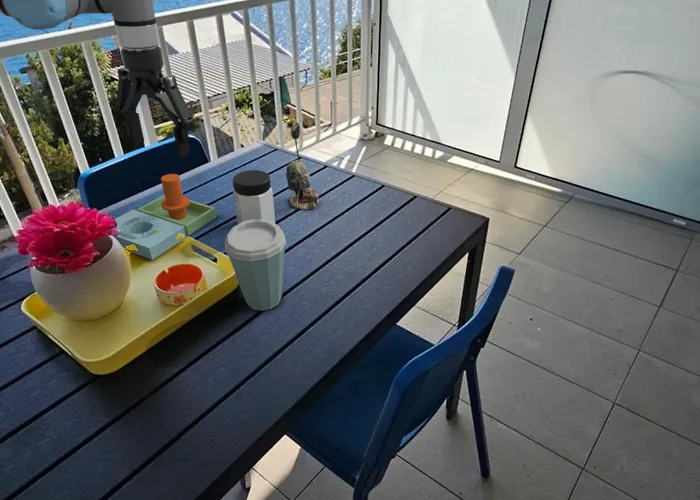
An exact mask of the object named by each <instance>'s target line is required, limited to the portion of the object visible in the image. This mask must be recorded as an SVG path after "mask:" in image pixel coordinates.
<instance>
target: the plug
mask: <svg viewBox="0 0 700 500" xmlns="http://www.w3.org/2000/svg"><path fill="white" fill-rule="evenodd" d="M160 181H161V185H162V190H163V195H165V200H163V201H162V203H161V207H162V208H163V209H164V210H167V211H168V213H169V217H170V218H171V219H174V220H180V219H183V218H185V217H186V216H187V213H186V207H188V206H189V204H190V201H189V200H190V199H189V198H188V197H187V196H184V193H183V189H182V184H181V179H180V175H179V174H177V173H168V174H165V175H163V176H161V178H160Z"/></svg>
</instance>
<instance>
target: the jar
mask: <svg viewBox="0 0 700 500" xmlns="http://www.w3.org/2000/svg"><path fill="white" fill-rule="evenodd" d="M273 192H274V191H273V188H272V187H271V176H270V174H269V173H268V172H265V171H263V170H259V169H250V170H244V171H240V172H238V173H236V174H235V175H233V177H232V193H233V194H232V195H233V202H234V208H235V209H234V210H235V214H236V216H235V217H236V222H237V225H238V224H240V223H241V222H243V221H247V220H254V219H263V220H270V221H272V222H274V223H275V224H276V214H275V213H276V212H275V205H274V204H275V203H274V193H273Z"/></svg>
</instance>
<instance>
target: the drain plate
mask: <svg viewBox="0 0 700 500" xmlns="http://www.w3.org/2000/svg"><path fill="white" fill-rule="evenodd" d="M114 219H115V221H116V222H117V226H116V227H117V229H118V230H120V234H119V235H118V236H116V237H115V238H116V239H117V240H118V241H119V242H120V244H121V245H122V246H123V247H124V248H126V246H129V245H132V244H134V245H135V246H136V248H137V249H138V251H136V250H131V251H129V252H130V253H133V254H135V255H137V256H140V257H143V258H146V259H148V260H151V261H153V260H154V259H155V260H156V259H157V258H158V257H159V256H161V255H162V254H164V253H165V252H167V251H169V250H170V249H171V248H173V247H174V246H176V245H178V244H179V243H180V242H182V241H184V240H185V239H186V238H182V237H180V238H179V239H177V240H176V237H177V234H178V233H182V234H185V229H184V226H181V225H178V224H175V223H172V222H169V221H166V220H163V219H160V218H157V217H154V216H151V215H148V214H145V213H142V212H139V211H137V209H131V210H129V211H127V212H125V213H123V214H121V215H119V216H118V217H115V218H114ZM157 231H161V232H158V233H155V232H157ZM185 235H186V234H185ZM186 236H187V235H186Z"/></svg>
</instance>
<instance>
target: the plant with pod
mask: <svg viewBox="0 0 700 500" xmlns="http://www.w3.org/2000/svg"><path fill="white" fill-rule="evenodd" d="M300 135H301V127H300V124H299V122H296V121H295V122H294V124H293V125H292V126H291V128H290V136H291V137H292V139H293V140H294V144H295V149H296V155H297V159H295V160H293V161H290V162H289V163H288V164H286V163H284V165H285V166H286V165H287V166H286V172H285V173H286V174H285V176H286V181H287V186H288V189H289V190H290V191H293V192H294V193H295V194H293V195H292V196H291V197H289V202H290V204H291V206H292V207H293V208H296V209H300V210H312V209H315V208H316V207H317V206H318V204H319V202H320V200H319V197H320V196H319V193H318V192H316V191H314V190H313V188H311V176H310V174H309V171H308V169H307V166H306V164H305V163H304V161H302V160H300V155H299V150H298V142H297V141H298V139H299V138H300Z"/></svg>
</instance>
